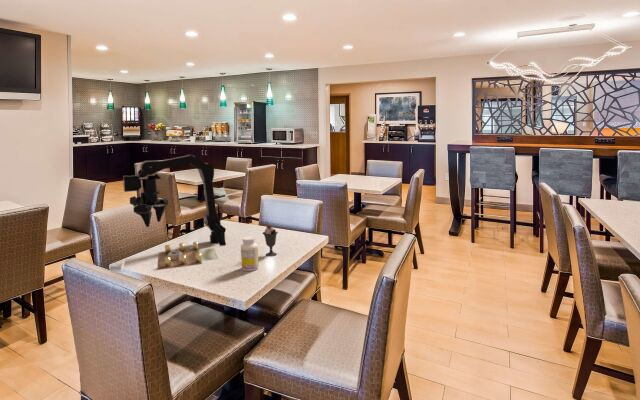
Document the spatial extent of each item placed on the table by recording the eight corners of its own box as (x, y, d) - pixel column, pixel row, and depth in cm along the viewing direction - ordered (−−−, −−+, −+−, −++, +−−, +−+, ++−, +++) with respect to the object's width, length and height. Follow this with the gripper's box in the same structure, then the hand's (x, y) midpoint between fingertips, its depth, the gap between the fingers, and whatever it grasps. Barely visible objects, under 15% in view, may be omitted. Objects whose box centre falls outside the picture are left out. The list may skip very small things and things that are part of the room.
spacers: (198, 248, 185) (197, 241, 184) (201, 262, 166) (201, 254, 166) (165, 252, 180) (164, 245, 179) (165, 267, 161) (164, 258, 161)
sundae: (263, 252, 182) (262, 220, 179) (278, 251, 182) (277, 219, 179) (263, 257, 175) (261, 223, 172) (278, 256, 176) (277, 223, 173)
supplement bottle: (250, 264, 166) (248, 234, 164) (262, 267, 162) (260, 237, 160) (238, 269, 161) (236, 238, 158) (250, 272, 157) (248, 241, 155)
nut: (182, 255, 175) (181, 249, 175) (182, 259, 171) (182, 253, 170) (168, 257, 173) (167, 251, 173) (168, 261, 169) (167, 255, 168)
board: (213, 248, 189) (213, 245, 189) (219, 264, 167) (219, 261, 167) (158, 254, 181) (158, 252, 181) (157, 272, 159) (157, 269, 159)
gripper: (144, 186, 186) (148, 218, 189) (119, 193, 168) (123, 229, 171) (167, 186, 184) (170, 219, 187) (144, 193, 166) (148, 229, 169)
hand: (153, 224), depth 179 cm, fingers open, 9 cm apart
